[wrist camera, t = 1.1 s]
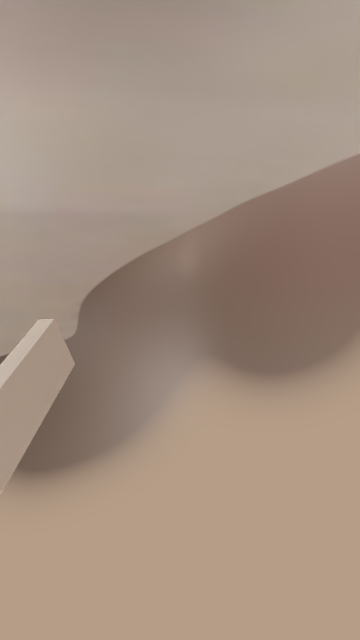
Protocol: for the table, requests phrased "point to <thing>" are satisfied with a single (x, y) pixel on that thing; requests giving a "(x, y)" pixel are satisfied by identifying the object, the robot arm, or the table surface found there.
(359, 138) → the table surface
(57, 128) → the table surface
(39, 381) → the robot arm
